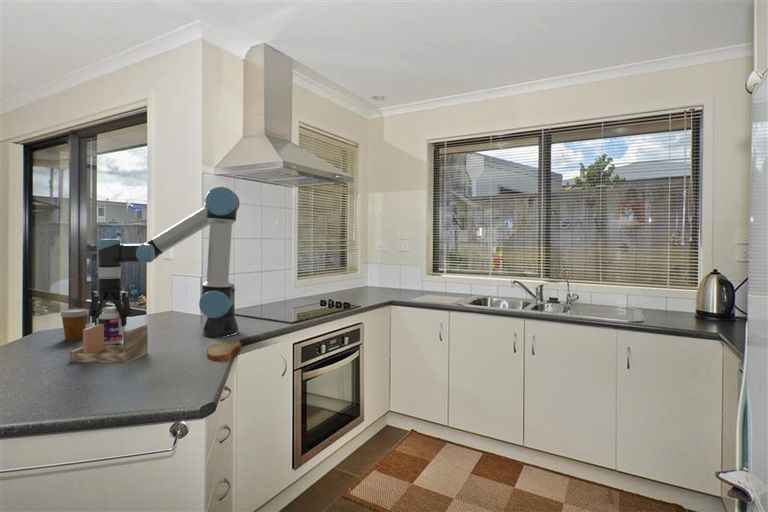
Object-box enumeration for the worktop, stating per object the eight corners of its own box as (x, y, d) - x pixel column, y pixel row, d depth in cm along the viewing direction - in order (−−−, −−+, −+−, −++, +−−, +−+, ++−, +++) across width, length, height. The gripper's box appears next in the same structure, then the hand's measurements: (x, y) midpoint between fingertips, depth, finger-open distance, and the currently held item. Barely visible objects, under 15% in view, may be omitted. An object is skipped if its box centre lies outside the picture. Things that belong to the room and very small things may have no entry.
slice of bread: (219, 363, 149) (219, 353, 148) (191, 354, 159) (190, 344, 159) (260, 352, 163) (260, 343, 163) (232, 345, 173) (232, 336, 173)
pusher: (104, 350, 156) (103, 324, 156) (86, 357, 147) (86, 329, 147) (100, 350, 156) (100, 324, 156) (83, 357, 147) (82, 329, 147)
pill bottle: (111, 346, 164) (110, 309, 163) (93, 345, 166) (93, 308, 165) (127, 341, 172) (127, 306, 171) (111, 340, 174) (110, 305, 173)
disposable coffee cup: (94, 337, 180) (93, 309, 179) (71, 342, 171) (70, 313, 170) (78, 335, 183) (78, 307, 182) (54, 340, 174) (54, 311, 173)
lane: (147, 353, 158) (147, 324, 158) (127, 362, 146) (127, 331, 145) (94, 351, 158) (94, 322, 158) (69, 361, 146) (69, 330, 145)
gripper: (141, 276, 171) (142, 332, 172) (90, 276, 171) (91, 331, 172) (130, 278, 164) (131, 336, 165) (76, 278, 164) (78, 335, 165)
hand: (110, 333), depth 169 cm, fingers closed on pill bottle, 8 cm apart
